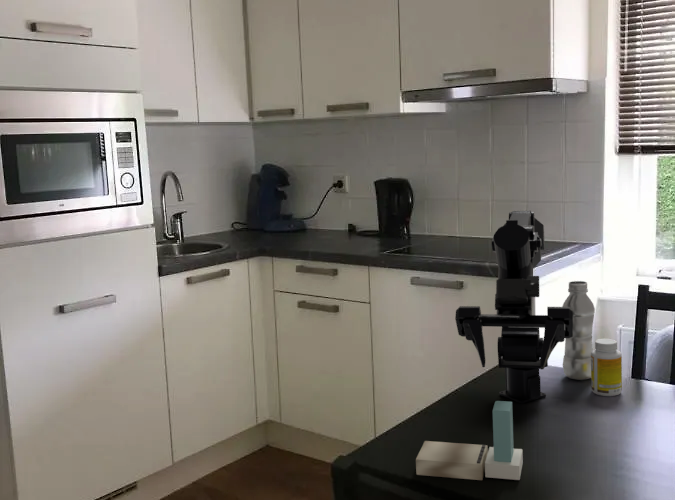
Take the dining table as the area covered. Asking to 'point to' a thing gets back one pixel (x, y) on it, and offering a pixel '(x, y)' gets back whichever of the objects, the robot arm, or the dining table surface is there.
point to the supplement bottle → (606, 368)
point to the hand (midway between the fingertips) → (512, 366)
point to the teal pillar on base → (503, 446)
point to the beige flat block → (452, 460)
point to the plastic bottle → (579, 333)
